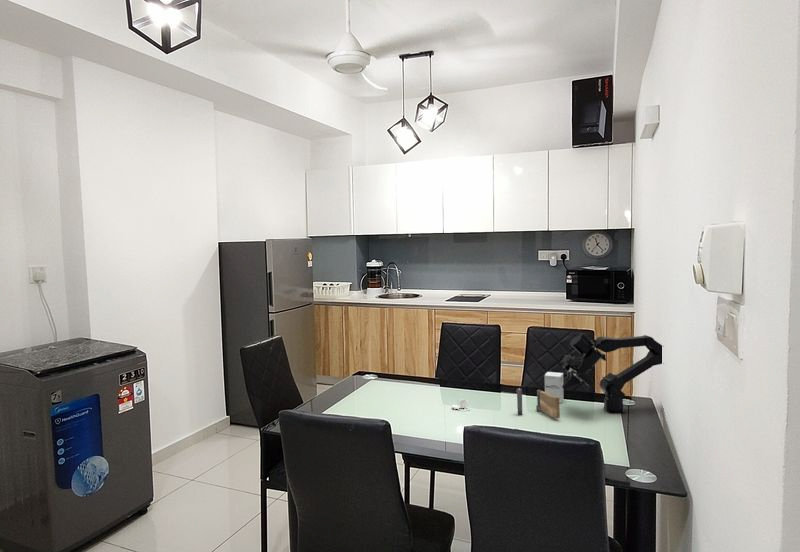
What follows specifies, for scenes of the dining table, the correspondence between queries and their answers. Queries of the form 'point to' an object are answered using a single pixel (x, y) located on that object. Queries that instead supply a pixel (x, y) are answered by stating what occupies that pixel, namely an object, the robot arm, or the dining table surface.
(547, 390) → the supplement box
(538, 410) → the hinge base
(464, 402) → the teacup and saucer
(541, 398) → the wooden plank panel
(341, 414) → the dining table surface
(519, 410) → the post
